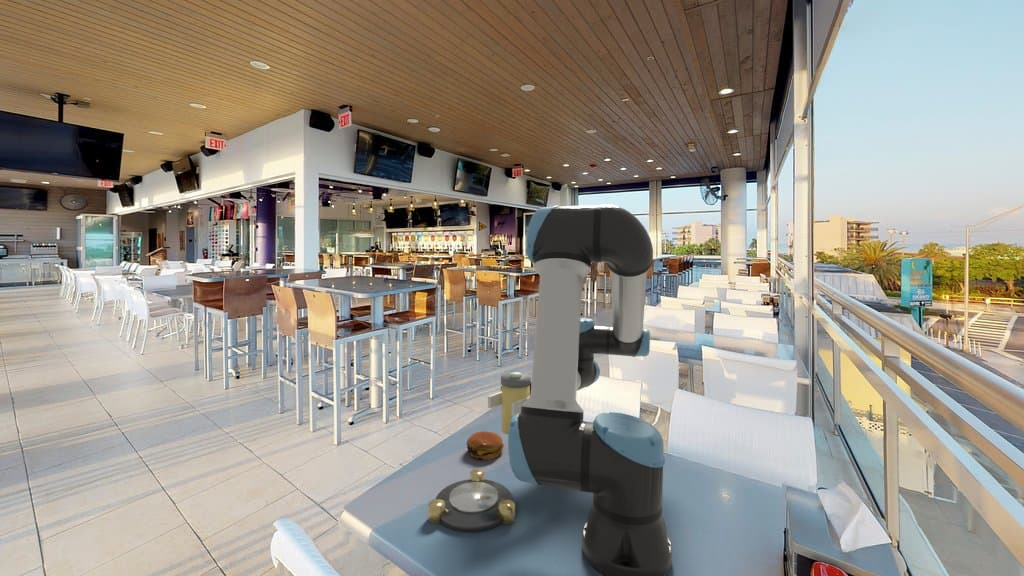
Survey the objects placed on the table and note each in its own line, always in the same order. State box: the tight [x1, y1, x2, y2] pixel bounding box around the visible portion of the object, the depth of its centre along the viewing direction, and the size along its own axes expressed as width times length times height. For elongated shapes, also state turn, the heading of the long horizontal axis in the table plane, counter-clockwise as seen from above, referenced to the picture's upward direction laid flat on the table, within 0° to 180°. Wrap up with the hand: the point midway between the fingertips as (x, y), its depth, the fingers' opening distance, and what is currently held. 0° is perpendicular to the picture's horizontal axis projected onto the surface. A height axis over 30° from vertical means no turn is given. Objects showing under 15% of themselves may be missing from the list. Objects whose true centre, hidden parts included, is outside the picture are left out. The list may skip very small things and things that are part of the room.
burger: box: [466, 430, 505, 461], centre depth 110 cm, size 10×9×5 cm
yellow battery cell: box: [500, 371, 532, 436], centre depth 95 cm, size 7×7×13 cm
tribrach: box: [427, 468, 516, 533], centre depth 85 cm, size 17×18×3 cm
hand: (500, 406), depth 91 cm, fingers closed on yellow battery cell, 6 cm apart
